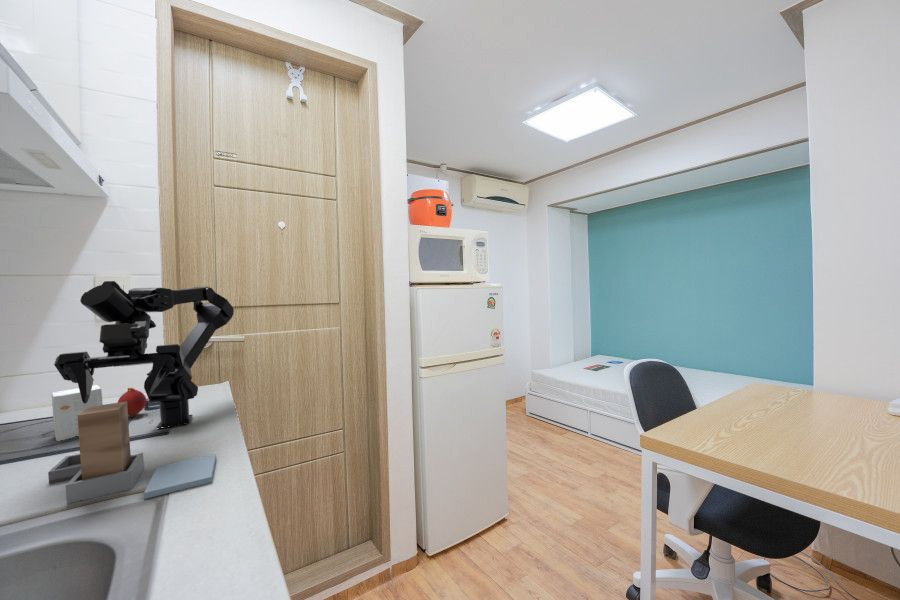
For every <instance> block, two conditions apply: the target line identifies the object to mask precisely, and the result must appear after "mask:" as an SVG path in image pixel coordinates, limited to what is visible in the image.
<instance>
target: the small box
mask: <svg viewBox="0 0 900 600" xmlns="http://www.w3.org/2000/svg"><path fill="white" fill-rule="evenodd" d="M102 394H103V393H102V388H101V387H100V386H99V385H97V384H95V385H94V384H93V385H92V389H91V393H90V397H89V400H88V402H87V403H83V401H82V398H81V394H80V390H79V387H78V388H72V389H71V388H70V389H67V390H66V389H65V390H61V391H54V392H51V401H52V402H51V404H52V417H53V429H54V435H55V440H56V442H57V441H59V442H61V441H60V440H63V441H65V440H64V439H67V440H69V439H68V438H71V437H75V436H79V430H78V416H77V415H79V414H80V413H81V412H83V411H84V410H85V409H87V408H88V407H91V406H98V405H104V404H103V395H102ZM75 438H76V437H75ZM71 439H72V438H71Z"/></svg>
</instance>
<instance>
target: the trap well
mask: <svg viewBox="0 0 900 600" xmlns="http://www.w3.org/2000/svg"><path fill="white" fill-rule="evenodd" d="M80 469H81V459H80V453H77V454H71V455H66V456H65V457H63V458H62V459H61V460H60V461H58V463H57V464H55V465H54V467H52V468H51V469H50V470H49V471H48V472H47V473H48V476H47V477H48V484H54V483H58V482H62V481H67V480H71V479H72V478H73V477H74V476H75V475H76V474H77V473H78V472H79V471H80Z"/></svg>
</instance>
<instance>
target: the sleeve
mask: <svg viewBox="0 0 900 600" xmlns="http://www.w3.org/2000/svg"><path fill="white" fill-rule="evenodd" d="M144 470H145V462H144V452H141V453H136V454H131V465H130V467H129V468H128V470H127V471H123V472H118V473H114V474H109V475H104V476H100V477H95V478H90V479H86V480H82V473H81V469H80V471H79V472H78V473H77V474H76V475H75V476H74V477H73V478H72V479H69V481H68V482H67V483H66V484H65V495H66V497H65V498H66V504H67V505H68V504H73V503H76V502H77V501H78V502H81V501H80V500H82V501H86V500H90V499H95V498H98V497H102V496H108V495H111V494H115V493H120V492H124V491H129V490H133V489H134V486H136V485H135V484H136V483H137V482H138V480H139V478H140V476H141V474H142V473H143V472H144Z"/></svg>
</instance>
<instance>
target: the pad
mask: <svg viewBox="0 0 900 600" xmlns="http://www.w3.org/2000/svg"><path fill="white" fill-rule="evenodd" d="M216 461H217V454H216V453H214V454H213V453H212V454H209V455H204V456H200V457H194V458H191V459H185V460H181V461H176V462H171V463H167V464H162V465H158V466H156V468H155V471H154V473H153V475H152V476H151V477H150V478H151V479H150V480H149V481H148V482H149V483H147V486H146V488H145V490H144V491H143V499H145V500H146V499H151V498H154V497H157V496H158V497H159V496H163V495H166V494H169V493H174V491H175V492H178V491H177V490H179V491H182V490H181V489H183V490H186V489H185V488H187V489H190V488H189V487H191V488H194V486H195V487H198V486H199V487H200V486H202V485H207V484H211V483H213V482H212V481H213V476H214V472H215V466H216Z"/></svg>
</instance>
